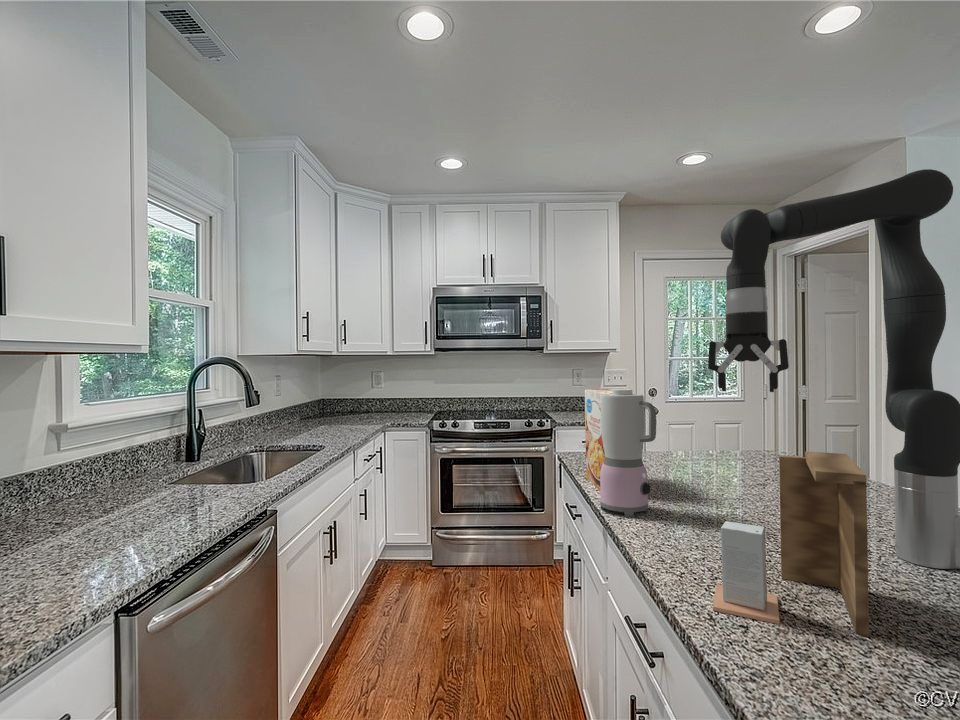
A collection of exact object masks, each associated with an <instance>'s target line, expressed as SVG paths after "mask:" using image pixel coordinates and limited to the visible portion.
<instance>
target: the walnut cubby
mask: <svg viewBox="0 0 960 720" xmlns="http://www.w3.org/2000/svg"><path fill="white" fill-rule="evenodd" d="M778 463H779V464H778V467H779V469H778V470H779V472H778V475H779V479H778V480H779V516H780V517H779V520H780V521H779V522H780V523H779V526H780V527H779V528H780V532H779V533H780V575H781V576H780V577H782V578H781V579H783V580H787V579H788V580H789V581H793V582H801V583H805V584H810V583H811V584H812V585H815V586H823V587H828V588H829V587H830V588H834V587H835V588H836V589H839V588H840V589H839V591H840V594H841V596H842V599H843V602H844V604H845V608H846V610H847V613H848V616H849V618H851V619H850V622H851V624H852V627H853V629H854V632H855V635H859V636H864V637H870V606H869V603H870V599H869V559H868V558H869V556H868V555H869V554H868V553H869V552H868V551H869V550H868V504H867V503H868V501H867V500H868V497H867V496H868V495H867V493H868V492H867V474H866V473H865V472H864V471H863V469H861V468H860V467H859V466H858V465H857V463H855V462H854V460H853V459H852V458H851V457H850V456H849V455H848V454H847V453H836V452H835V453H834V452H822V451H821V452H820V451H818V452H817V451H804V456H797V455H796V456H795V455H783V454H781V455H778Z"/></svg>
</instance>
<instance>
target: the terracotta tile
mask: <svg viewBox="0 0 960 720" xmlns="http://www.w3.org/2000/svg"><path fill="white" fill-rule="evenodd" d="M714 592H715V593H714V598H713V605H712V611H713V612H719V613H722V614H723V613H724V614H728V615H732V616H733V615H734V616H738V617H742V618H748V619H753V620H758V621H761V622H762V621H763V622H767V623H770V624H771V623H772V624H776V625H780V612H779V603H778V602H779V601H778V595H777V594H772V593H769V592H767V602H766V606H765V610H759V609H755V608H751V607H747V606H742V605H738V604H734V603H730V602H725V601H723V586H722V584H719V583H717V584H716V587H715V591H714Z"/></svg>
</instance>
